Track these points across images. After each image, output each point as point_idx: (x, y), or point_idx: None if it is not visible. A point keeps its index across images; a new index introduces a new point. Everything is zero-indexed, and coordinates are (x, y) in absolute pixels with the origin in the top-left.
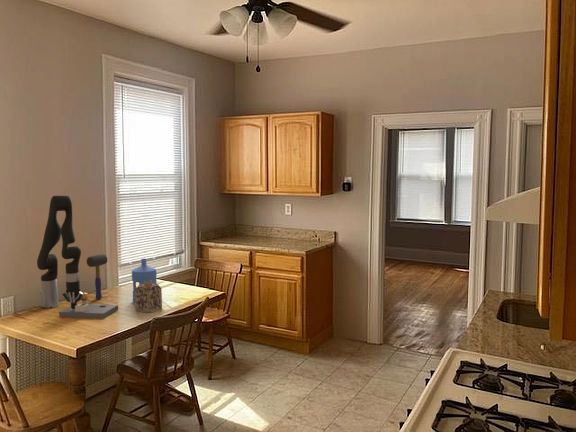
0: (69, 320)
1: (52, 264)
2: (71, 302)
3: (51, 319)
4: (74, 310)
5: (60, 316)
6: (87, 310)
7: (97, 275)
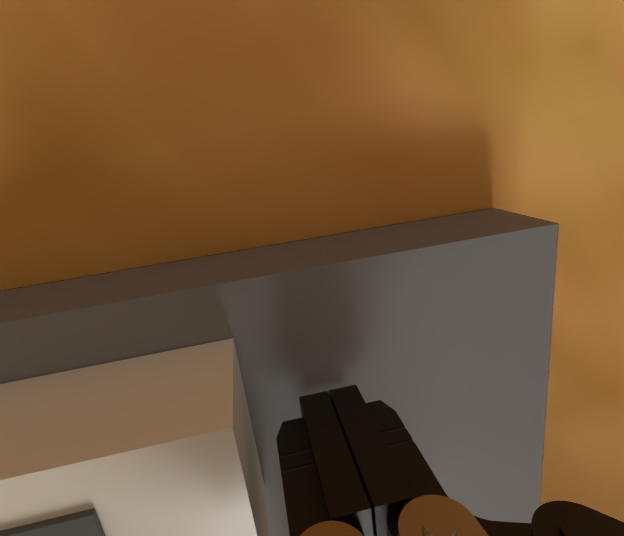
0: (161, 52)
1: None
2: (423, 516)
3: (541, 38)
4: None
5: (476, 213)
6: None
7: None
